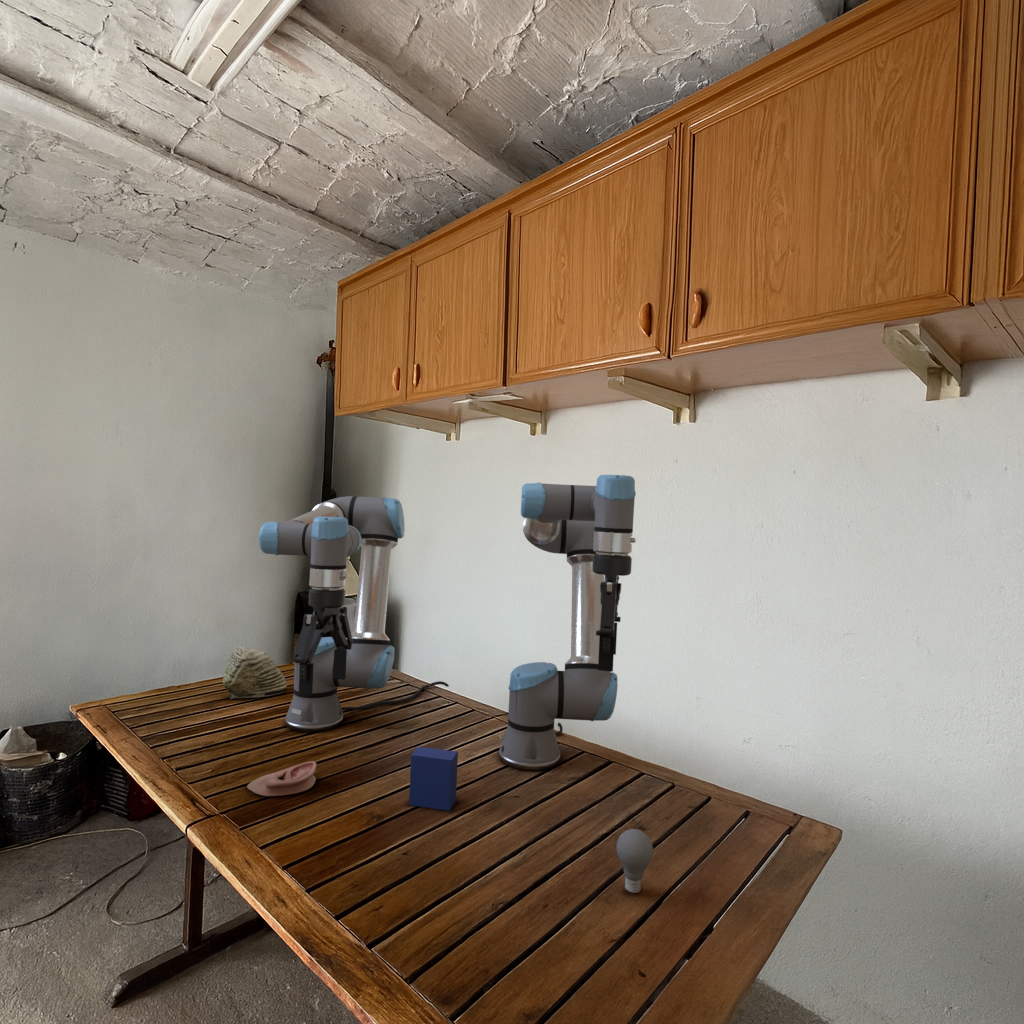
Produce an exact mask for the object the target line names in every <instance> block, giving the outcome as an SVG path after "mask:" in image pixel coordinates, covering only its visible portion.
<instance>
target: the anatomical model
mask: <svg viewBox="0 0 1024 1024" xmlns="http://www.w3.org/2000/svg"><path fill="white" fill-rule="evenodd" d="M316 770H317V762H316V761H314V760H311V761H306V762H303V763H298V764H296V765H293V766H290V767H287V768H284V769H282V770H279V771H275V772H272V773H269V774H265V775H263V776H260V777H257V778H256V779H254V780H252V781H250V782H249V783H248V784H247V786H246V788H247V789H248V790H249V791H250V792H251V793H253V794H256V795H259V796H263V797H277V796H287V795H295V794H299V793H302V792H305V791H307V790H309V789H311V788H312V787H313V786H314V785H315V784H316V780H317V777H316V776H315V775H314V774H315V772H316Z"/></svg>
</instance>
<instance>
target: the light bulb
mask: <svg viewBox="0 0 1024 1024" xmlns="http://www.w3.org/2000/svg"><path fill="white" fill-rule="evenodd" d="M615 849H616V854H617V857H618V859H619V861H620V863H621V865H622V867H623V873H624V874H623V875H624V876H625V878H624V888H625V890H627V891H628V892H630V893H634V894H635V893H639V892H640V891H641V889H642V887H641V886H642V879H643V877H644V875H645V871H646V868H647V867H648V866H649V864H650V863H651V861H652V859H653V855H654V847H653V843H652V841H651V838H649V836H648V835H647V834H646V833H645V832H643V831H642V830H641V829H636V828H629V829H627V830H625V831H623V832H622V833H621V834H620V835H619V837H618V839H617V841H616V847H615Z"/></svg>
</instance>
